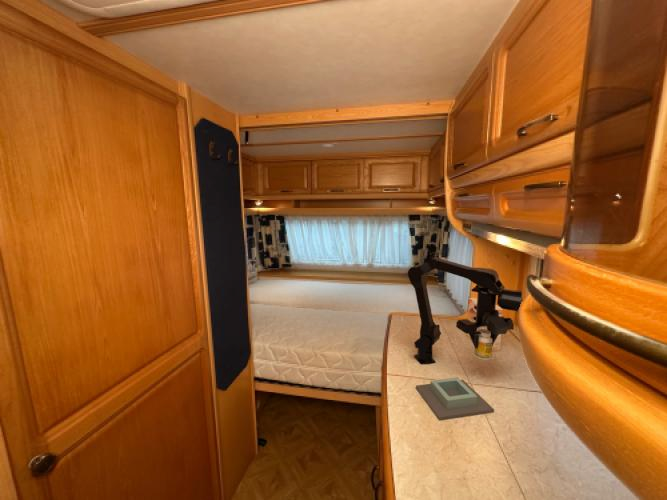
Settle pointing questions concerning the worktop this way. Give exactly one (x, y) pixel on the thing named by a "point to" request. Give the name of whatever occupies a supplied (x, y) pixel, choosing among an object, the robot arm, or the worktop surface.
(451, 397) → the socket
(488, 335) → the supplement bottle
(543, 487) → the worktop surface
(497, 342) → the coffeecake box
